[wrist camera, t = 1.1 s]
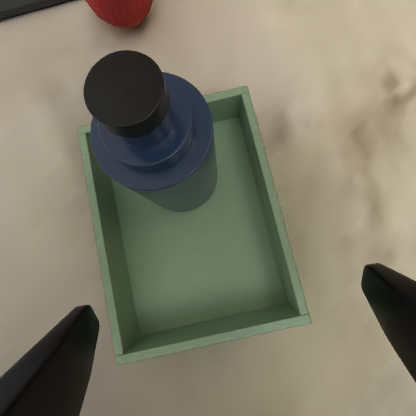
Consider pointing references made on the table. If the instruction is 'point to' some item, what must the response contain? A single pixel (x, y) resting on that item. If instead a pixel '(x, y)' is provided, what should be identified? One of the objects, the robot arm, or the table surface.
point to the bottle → (151, 131)
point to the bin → (197, 250)
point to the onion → (121, 11)
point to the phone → (23, 6)
